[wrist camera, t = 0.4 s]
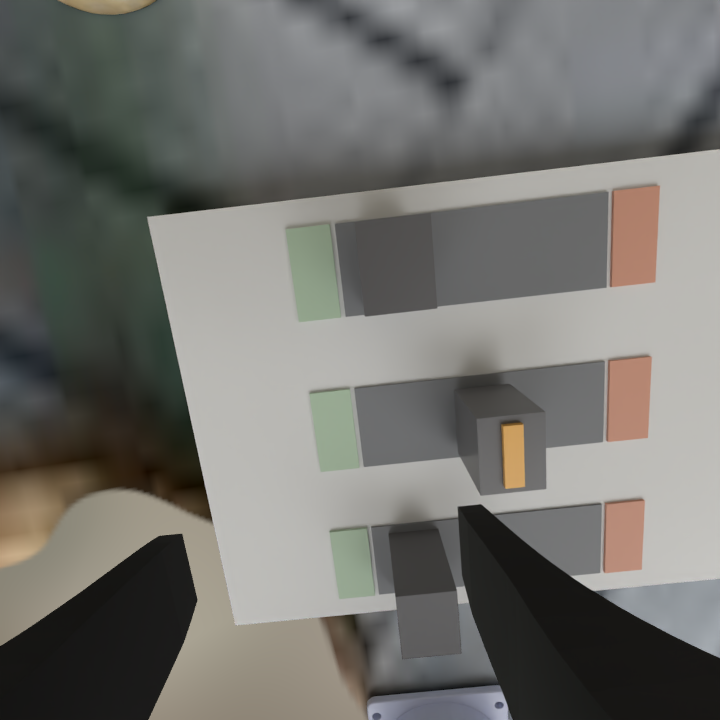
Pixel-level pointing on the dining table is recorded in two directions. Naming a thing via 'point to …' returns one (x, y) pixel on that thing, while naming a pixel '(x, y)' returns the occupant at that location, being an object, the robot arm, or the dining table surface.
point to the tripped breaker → (501, 439)
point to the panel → (452, 382)
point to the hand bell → (108, 5)
